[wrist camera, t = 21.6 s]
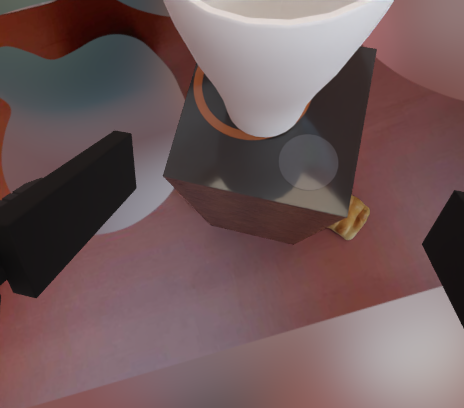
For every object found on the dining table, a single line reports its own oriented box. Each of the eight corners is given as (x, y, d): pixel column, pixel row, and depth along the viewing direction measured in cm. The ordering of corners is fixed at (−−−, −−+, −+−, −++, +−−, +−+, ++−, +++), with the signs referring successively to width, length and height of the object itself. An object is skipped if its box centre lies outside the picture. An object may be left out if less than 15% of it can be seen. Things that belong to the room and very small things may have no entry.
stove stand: (311, 165, 52) (379, 51, 24) (295, 245, 49) (350, 218, 22) (230, 148, 53) (208, 23, 26) (210, 225, 51) (163, 177, 23)
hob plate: (375, 50, 24) (377, 48, 24) (346, 217, 22) (347, 217, 22) (208, 23, 26) (208, 20, 26) (163, 177, 23) (162, 175, 23)
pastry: (298, 212, 50) (302, 207, 47) (320, 179, 51) (325, 172, 48) (349, 243, 49) (357, 241, 45) (369, 209, 50) (379, 204, 46)
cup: (182, 149, 23) (94, -2, 10) (217, 34, 25) (180, -220, 12) (318, 179, 22) (416, 53, 9) (343, 56, 24) (455, -198, 11)
